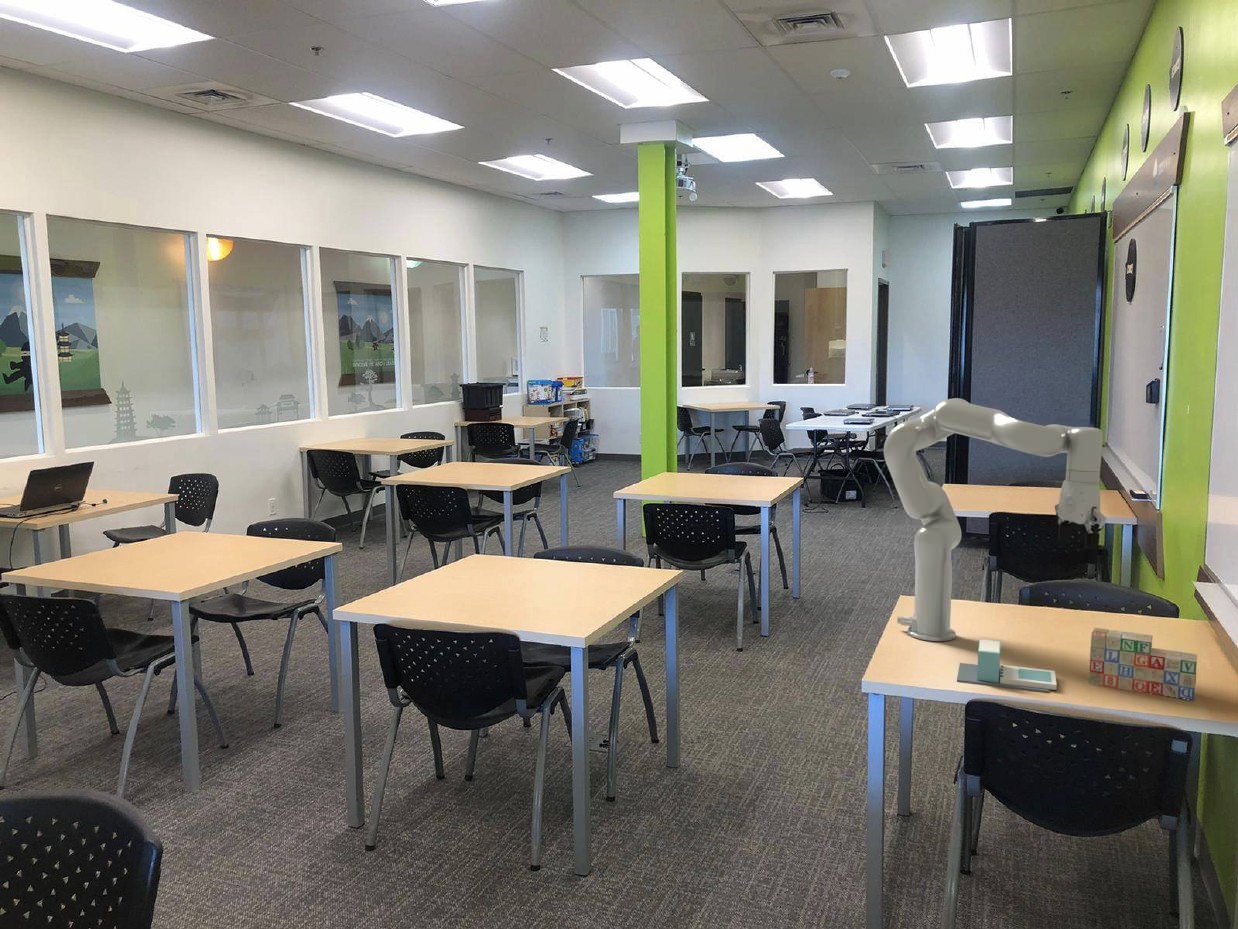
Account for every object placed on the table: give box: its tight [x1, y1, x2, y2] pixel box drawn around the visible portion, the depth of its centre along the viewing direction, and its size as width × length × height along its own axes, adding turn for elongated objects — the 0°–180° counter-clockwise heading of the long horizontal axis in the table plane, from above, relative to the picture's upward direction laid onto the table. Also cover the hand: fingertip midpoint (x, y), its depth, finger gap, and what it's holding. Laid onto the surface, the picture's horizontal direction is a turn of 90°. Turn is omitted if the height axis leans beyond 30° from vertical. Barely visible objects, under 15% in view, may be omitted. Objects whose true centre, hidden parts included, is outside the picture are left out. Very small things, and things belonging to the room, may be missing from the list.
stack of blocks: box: [1088, 627, 1198, 701], centre depth 215 cm, size 21×6×12 cm, turn 57°
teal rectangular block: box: [977, 638, 1002, 682], centre depth 224 cm, size 5×10×7 cm, turn 157°
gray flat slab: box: [956, 662, 1057, 694], centre depth 223 cm, size 22×13×2 cm, turn 67°
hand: (1077, 544), depth 233 cm, fingers open, 9 cm apart
